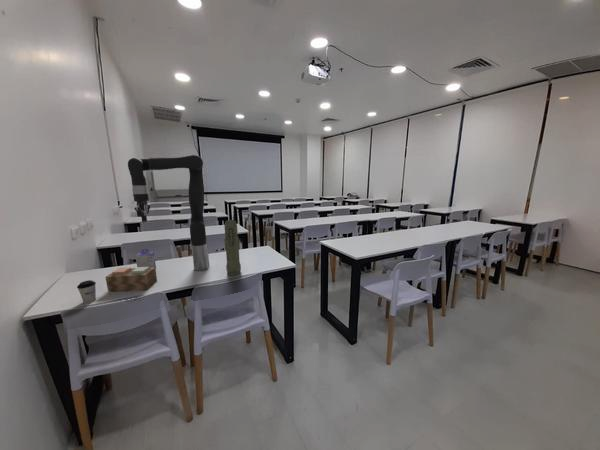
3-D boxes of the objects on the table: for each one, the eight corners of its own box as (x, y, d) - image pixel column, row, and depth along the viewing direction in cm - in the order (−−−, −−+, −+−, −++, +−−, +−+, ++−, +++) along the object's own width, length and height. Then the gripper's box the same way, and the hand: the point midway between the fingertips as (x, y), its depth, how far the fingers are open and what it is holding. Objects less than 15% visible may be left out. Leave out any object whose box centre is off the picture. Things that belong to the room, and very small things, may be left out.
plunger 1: (133, 283, 133) (130, 267, 131) (126, 288, 127) (123, 271, 125) (122, 284, 132) (119, 267, 130) (115, 288, 126) (112, 272, 124)
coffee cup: (77, 302, 113) (73, 284, 111) (93, 296, 119) (90, 278, 117) (85, 305, 110) (81, 286, 108) (102, 298, 117) (98, 280, 115)
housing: (157, 281, 136) (155, 267, 135) (147, 290, 126) (145, 274, 124) (121, 283, 134) (119, 268, 132) (108, 292, 123) (105, 276, 122)
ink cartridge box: (156, 268, 157) (153, 248, 154) (155, 270, 152) (152, 250, 150) (139, 270, 153) (136, 250, 150) (137, 273, 148) (134, 252, 145)
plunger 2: (151, 282, 134) (149, 266, 132) (145, 287, 128) (143, 270, 126) (140, 283, 133) (138, 267, 131) (134, 287, 127) (131, 271, 125)
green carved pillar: (239, 269, 154) (236, 218, 148) (242, 275, 144) (238, 221, 137) (226, 271, 151) (222, 219, 144) (227, 278, 140) (223, 222, 134)
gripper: (141, 193, 129) (145, 223, 133) (153, 192, 142) (156, 219, 146) (126, 193, 129) (131, 223, 132) (140, 192, 141) (144, 219, 145)
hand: (144, 221), depth 139 cm, fingers closed
